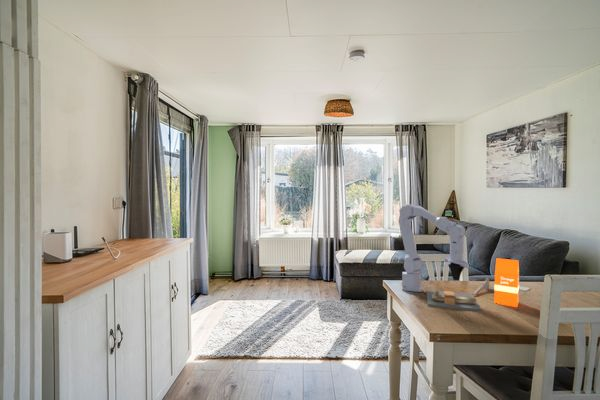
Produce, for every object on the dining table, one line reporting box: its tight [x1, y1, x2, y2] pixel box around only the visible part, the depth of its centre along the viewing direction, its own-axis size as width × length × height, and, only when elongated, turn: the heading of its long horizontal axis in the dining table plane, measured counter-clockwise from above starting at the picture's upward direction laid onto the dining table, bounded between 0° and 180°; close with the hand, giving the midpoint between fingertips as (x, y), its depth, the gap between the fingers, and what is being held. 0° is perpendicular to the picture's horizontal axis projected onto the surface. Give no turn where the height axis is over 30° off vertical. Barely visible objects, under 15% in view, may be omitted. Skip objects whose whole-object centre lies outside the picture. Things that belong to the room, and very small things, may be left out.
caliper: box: [472, 277, 490, 297], centre depth 166 cm, size 20×1×6 cm, turn 132°
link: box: [432, 290, 477, 304], centre depth 148 cm, size 18×4×4 cm, turn 73°
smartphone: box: [519, 285, 531, 292], centre depth 176 cm, size 7×1×15 cm
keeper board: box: [425, 290, 482, 312], centre depth 153 cm, size 21×21×5 cm
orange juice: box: [493, 257, 520, 308], centre depth 150 cm, size 8×9×20 cm
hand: (456, 279), depth 155 cm, fingers closed
